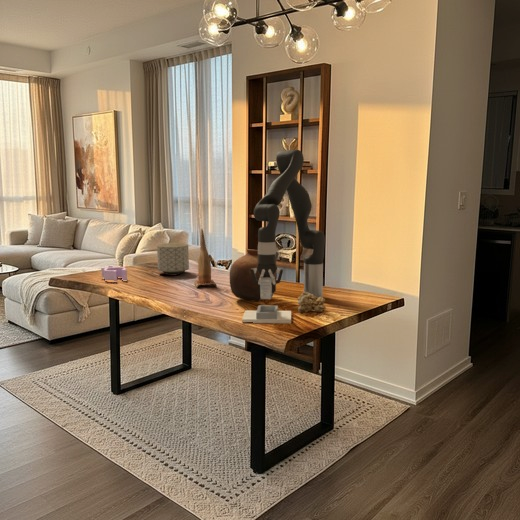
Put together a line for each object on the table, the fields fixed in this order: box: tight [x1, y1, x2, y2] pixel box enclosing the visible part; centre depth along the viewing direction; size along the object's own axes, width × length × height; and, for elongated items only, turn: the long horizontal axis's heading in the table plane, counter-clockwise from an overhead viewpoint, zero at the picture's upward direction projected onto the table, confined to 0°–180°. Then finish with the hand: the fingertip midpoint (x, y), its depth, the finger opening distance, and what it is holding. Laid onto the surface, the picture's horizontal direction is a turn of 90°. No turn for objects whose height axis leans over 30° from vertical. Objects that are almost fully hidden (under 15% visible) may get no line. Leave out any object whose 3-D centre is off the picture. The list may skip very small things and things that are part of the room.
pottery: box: [229, 248, 278, 302], centre depth 246 cm, size 23×23×25 cm
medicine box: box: [260, 277, 274, 300], centre depth 213 cm, size 8×4×9 cm, turn 171°
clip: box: [100, 265, 128, 282], centre depth 300 cm, size 20×12×7 cm, turn 40°
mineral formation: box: [297, 291, 327, 314], centre depth 228 cm, size 8×13×15 cm
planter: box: [156, 242, 190, 275], centre depth 315 cm, size 19×19×18 cm
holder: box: [241, 304, 292, 324], centre depth 215 cm, size 14×20×4 cm
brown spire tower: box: [194, 228, 217, 289], centre depth 278 cm, size 11×12×32 cm
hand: (267, 292), depth 213 cm, fingers closed on medicine box, 4 cm apart
